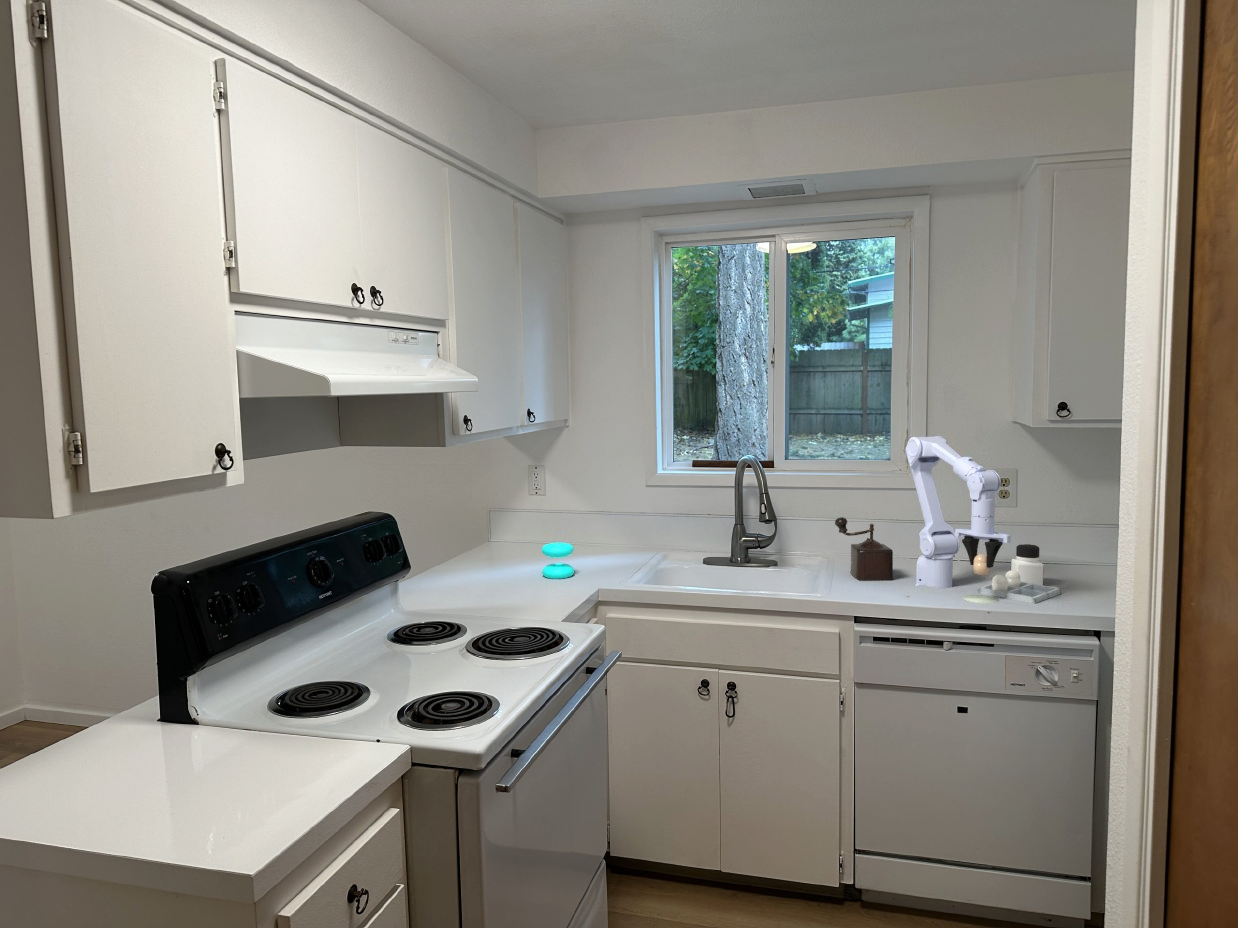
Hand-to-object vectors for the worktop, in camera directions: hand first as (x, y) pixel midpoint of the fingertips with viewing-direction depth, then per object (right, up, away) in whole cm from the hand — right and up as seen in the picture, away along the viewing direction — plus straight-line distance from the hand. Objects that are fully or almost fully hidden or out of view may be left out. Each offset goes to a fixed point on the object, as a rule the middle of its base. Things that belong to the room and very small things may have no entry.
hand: (981, 565), depth 233 cm
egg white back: (+14, -8, +12) cm, 19 cm away
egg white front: (+8, -8, +7) cm, 13 cm away
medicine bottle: (+20, -8, +18) cm, 28 cm away
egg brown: (0, -2, 0) cm, 2 cm away
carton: (+13, -9, +6) cm, 17 cm away
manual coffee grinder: (-23, -7, +32) cm, 40 cm away
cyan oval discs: (-117, -8, +40) cm, 124 cm away
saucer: (0, -10, +1) cm, 10 cm away
